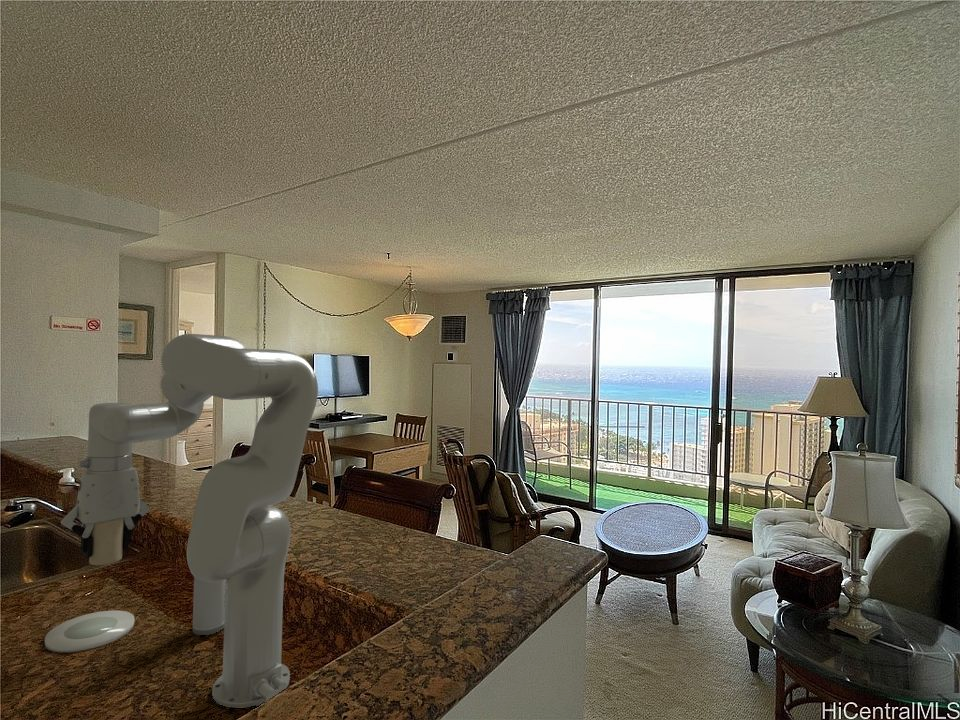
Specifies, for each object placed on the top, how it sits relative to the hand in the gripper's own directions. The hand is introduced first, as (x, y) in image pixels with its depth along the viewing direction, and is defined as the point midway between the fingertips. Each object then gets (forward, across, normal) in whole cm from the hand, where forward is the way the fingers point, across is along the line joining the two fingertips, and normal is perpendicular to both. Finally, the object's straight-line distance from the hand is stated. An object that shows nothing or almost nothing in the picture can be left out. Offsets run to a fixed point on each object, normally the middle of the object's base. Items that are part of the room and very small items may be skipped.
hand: (106, 550), depth 106 cm
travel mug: (+18, +16, -11) cm, 27 cm away
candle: (+2, 0, 0) cm, 2 cm away
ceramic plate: (+18, -1, +5) cm, 19 cm away
